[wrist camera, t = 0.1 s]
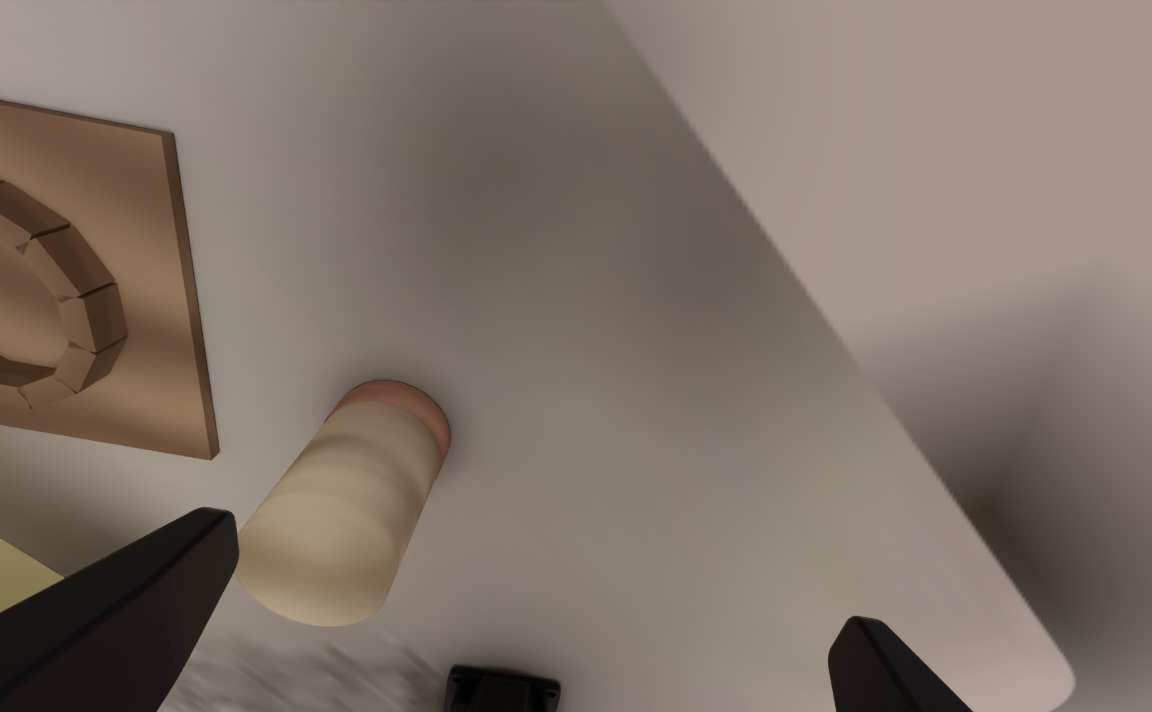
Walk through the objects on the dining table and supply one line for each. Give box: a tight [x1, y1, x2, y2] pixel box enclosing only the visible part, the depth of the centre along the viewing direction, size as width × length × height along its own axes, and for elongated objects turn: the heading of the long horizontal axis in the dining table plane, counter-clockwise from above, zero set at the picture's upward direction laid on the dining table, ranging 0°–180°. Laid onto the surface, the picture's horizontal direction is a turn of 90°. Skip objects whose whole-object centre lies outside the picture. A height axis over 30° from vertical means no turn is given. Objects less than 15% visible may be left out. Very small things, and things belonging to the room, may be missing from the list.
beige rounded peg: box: [234, 381, 450, 627], centre depth 21 cm, size 5×5×8 cm
